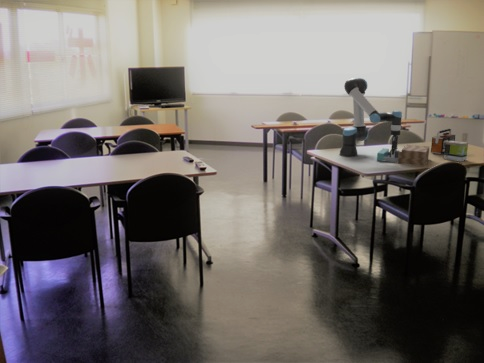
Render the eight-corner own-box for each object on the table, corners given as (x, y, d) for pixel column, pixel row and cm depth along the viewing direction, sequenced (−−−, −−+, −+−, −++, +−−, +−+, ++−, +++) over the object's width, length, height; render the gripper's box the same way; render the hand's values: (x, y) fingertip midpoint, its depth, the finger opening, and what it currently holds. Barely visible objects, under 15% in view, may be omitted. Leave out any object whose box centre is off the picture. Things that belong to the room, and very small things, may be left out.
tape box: (389, 158, 410) (389, 150, 408) (390, 156, 414) (390, 149, 413) (398, 158, 407) (398, 151, 405) (398, 157, 411) (399, 150, 410)
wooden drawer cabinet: (397, 163, 396) (399, 149, 394) (403, 157, 421) (404, 144, 418) (424, 165, 388) (425, 152, 385) (428, 159, 412) (429, 146, 410)
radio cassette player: (441, 155, 430) (443, 132, 425) (429, 153, 437) (431, 131, 432) (454, 150, 451) (456, 129, 446) (442, 149, 458) (445, 127, 453)
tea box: (466, 160, 411) (468, 142, 407) (460, 161, 404) (463, 144, 400) (449, 157, 421) (451, 140, 418) (443, 159, 415) (445, 141, 411)
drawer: (376, 160, 405) (377, 153, 404) (382, 155, 426) (382, 148, 425) (405, 163, 396) (406, 155, 394) (410, 157, 417) (410, 150, 415)
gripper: (398, 131, 395) (396, 160, 400) (402, 128, 412) (400, 155, 418) (388, 131, 398) (386, 159, 403) (393, 128, 416) (391, 154, 421)
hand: (393, 157), depth 411 cm, fingers open, 8 cm apart
